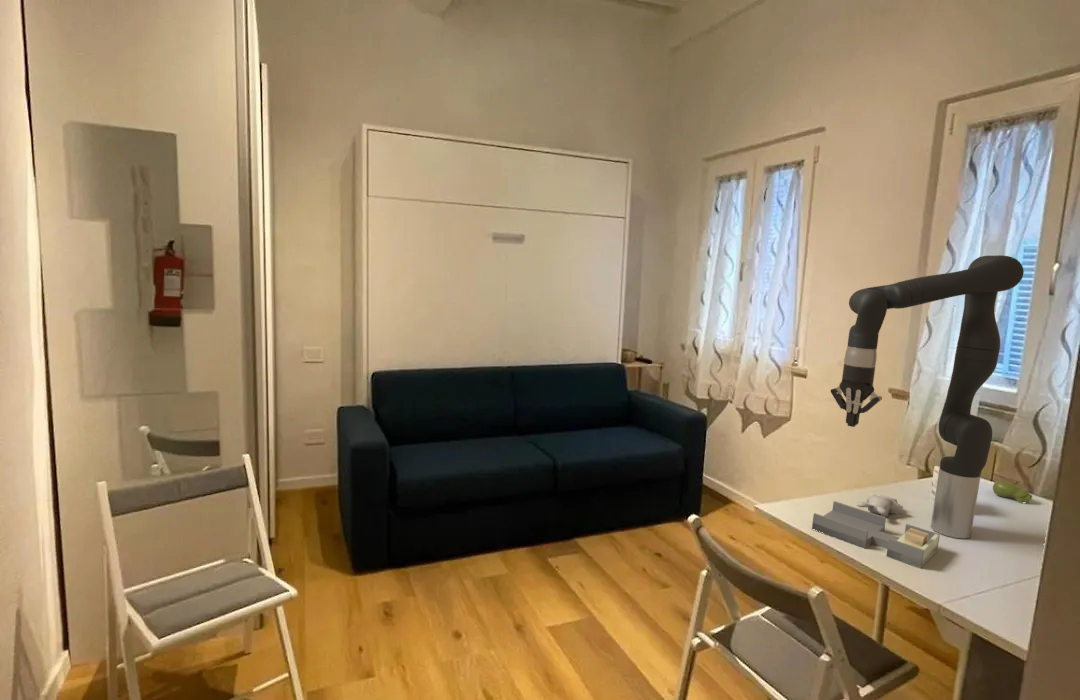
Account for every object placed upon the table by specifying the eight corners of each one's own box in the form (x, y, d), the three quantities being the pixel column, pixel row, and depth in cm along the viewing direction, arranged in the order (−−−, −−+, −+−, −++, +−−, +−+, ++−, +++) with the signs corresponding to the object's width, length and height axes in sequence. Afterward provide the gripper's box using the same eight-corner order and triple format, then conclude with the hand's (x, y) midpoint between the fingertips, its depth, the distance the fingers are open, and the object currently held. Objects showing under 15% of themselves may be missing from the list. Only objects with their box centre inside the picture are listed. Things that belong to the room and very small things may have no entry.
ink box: (959, 514, 176) (965, 476, 175) (940, 512, 177) (946, 474, 176) (945, 503, 185) (951, 466, 183) (928, 501, 186) (933, 465, 184)
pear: (998, 475, 195) (1036, 490, 188) (992, 490, 196) (1029, 505, 189) (994, 479, 191) (1032, 494, 184) (988, 494, 193) (1026, 509, 186)
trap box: (832, 516, 172) (834, 501, 171) (937, 550, 153) (939, 534, 152) (811, 529, 162) (813, 513, 161) (920, 568, 143) (923, 550, 143)
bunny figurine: (909, 499, 176) (890, 506, 166) (906, 516, 176) (886, 523, 166) (875, 489, 183) (854, 494, 173) (872, 505, 183) (851, 511, 174)
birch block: (908, 542, 152) (910, 528, 152) (926, 548, 149) (928, 533, 149) (903, 547, 150) (905, 532, 149) (921, 553, 147) (923, 538, 146)
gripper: (891, 366, 159) (882, 429, 161) (839, 358, 168) (831, 418, 171) (882, 369, 153) (873, 434, 156) (828, 361, 163) (821, 422, 166)
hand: (851, 425), depth 163 cm, fingers closed
